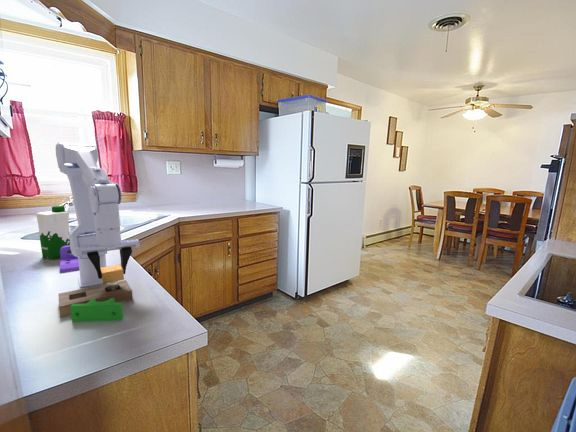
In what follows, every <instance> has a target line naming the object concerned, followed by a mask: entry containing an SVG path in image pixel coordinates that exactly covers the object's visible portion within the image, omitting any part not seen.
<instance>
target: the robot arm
mask: <svg viewBox="0 0 576 432" xmlns="http://www.w3.org/2000/svg"><path fill="white" fill-rule="evenodd" d="M55 156H56V162H57V168H58V169H59V172H60V173H63V174H65V175H66V176H67V179H68V181H69V185H70V191H71V195H72V199H73V204H74V209H75V213H76V219H77V224H78V225H77V226H76V227H75V228H73V230H70V235H69V237H70V248H71V252H72V254H73V255H74V256H75V257H78V262H79V270H78V271H79V276H78V277H77V281H78V285H79V288H80V289H83V288H88V287H93V286H98V285H103V283H102V280H101V279H102V274H101V269H100V268H101V267H107V257H106V256H107V255H106V254H108V252H110V251H117V250H119V256H120V265H121V267H122V268H123V272H124V275H126V270H127V266H128V262H129V259H130V258H131V255H132V253H133V249H132V248H135V249H136V248H140V240H139V239H138V238H137V239H127V240H126V239H125V240H124V239H123V240H122V235H121V222H120V220H121V219H120V211H119V205H120V204H121V203H122V198H123V197H122V190H121V187H120V186H119V183H118V182H117V183H116V182H114V181H111V179H110V178H109V176H108V174H107V173H106V171H105V170H104V169H103V168H101V167H99V166H98V164H97V163H98V161H99V152H98V148H97V146H96V145H94V144H91V143H90V144H85V143H72V142H71V143H69V142H61V141H59V142H57V143H56V145H55Z"/></svg>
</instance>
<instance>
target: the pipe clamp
mask: <svg viewBox="0 0 576 432" xmlns="http://www.w3.org/2000/svg"><path fill="white" fill-rule="evenodd" d="M70 309H71V315H70V317H71V323H81V322H83V323H84V322H107V321H108V322H114V321H117V322H118V321H119V322H121V321H122V320H123V319H124V312H123V311H124V310H123V302H122V303H115V300H114V298H111V299H109V300H107V301H103V302H96V299H91V300H90V301H89V302H88V303H86V304H72V305H71V306H70Z"/></svg>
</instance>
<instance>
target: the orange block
mask: <svg viewBox="0 0 576 432" xmlns="http://www.w3.org/2000/svg"><path fill="white" fill-rule="evenodd" d="M100 269H101V274H102V279H101V280H102V285H104V284H108V290H114V289H117V288H118V283H117V282H119V281H124V280H125V276H124V275H125V274H124V272H123V268H122V267H121V263H120V264H115V265H106V267H101V268H100Z"/></svg>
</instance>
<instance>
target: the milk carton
mask: <svg viewBox="0 0 576 432" xmlns="http://www.w3.org/2000/svg"><path fill="white" fill-rule="evenodd" d="M35 215H36V221H37V226H38V233H39V242H40V247H41V248H40V249H41V255H42V258H44V259H50V260H57V259H61V256H60V249H61V248H62V247H63V246H67V245H70V237H69V235H70V233H71V231H70V225H69V217H70V212H69V211H66V209H65V205H55V206H54V205H53V206H51V210H48V211H47V210H46V211H41V212H36V213H35ZM67 253H68V254H71V253H72V252H71V250H68V251H67Z"/></svg>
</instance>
